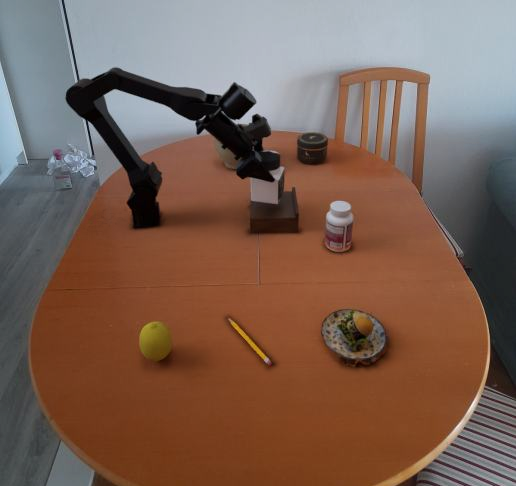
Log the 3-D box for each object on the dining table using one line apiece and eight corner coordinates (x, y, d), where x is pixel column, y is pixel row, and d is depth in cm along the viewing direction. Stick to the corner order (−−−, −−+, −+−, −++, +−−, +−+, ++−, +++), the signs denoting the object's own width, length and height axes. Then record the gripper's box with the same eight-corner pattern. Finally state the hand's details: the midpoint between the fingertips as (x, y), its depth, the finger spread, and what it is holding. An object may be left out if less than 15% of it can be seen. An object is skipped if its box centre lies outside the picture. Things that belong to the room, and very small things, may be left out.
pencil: (268, 366, 77) (268, 363, 76) (226, 320, 86) (226, 317, 86) (272, 364, 77) (272, 361, 77) (229, 318, 87) (229, 315, 86)
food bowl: (334, 307, 89) (337, 278, 85) (394, 329, 83) (399, 299, 80) (309, 349, 80) (311, 319, 76) (374, 378, 74) (379, 346, 71)
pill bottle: (342, 235, 110) (346, 196, 104) (355, 249, 105) (360, 209, 99) (320, 240, 108) (322, 201, 103) (332, 255, 103) (335, 215, 98)
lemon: (167, 372, 76) (161, 339, 72) (137, 367, 77) (130, 334, 73) (179, 347, 81) (174, 314, 77) (150, 342, 82) (144, 310, 78)
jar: (292, 162, 145) (293, 141, 142) (301, 150, 153) (302, 130, 150) (322, 167, 142) (323, 145, 138) (330, 154, 150) (331, 133, 146)
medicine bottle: (278, 205, 110) (279, 161, 104) (250, 201, 111) (249, 158, 106) (284, 191, 116) (285, 148, 110) (257, 187, 117) (257, 146, 112)
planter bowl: (264, 174, 138) (263, 142, 133) (212, 175, 139) (209, 143, 133) (264, 152, 152) (263, 123, 147) (217, 153, 153) (215, 123, 148)
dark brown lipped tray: (250, 233, 111) (249, 214, 108) (250, 205, 123) (250, 187, 120) (298, 232, 111) (298, 213, 108) (294, 205, 122) (294, 187, 120)
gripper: (249, 123, 94) (300, 169, 99) (250, 96, 110) (294, 136, 116) (214, 157, 98) (265, 200, 103) (220, 126, 114) (264, 164, 120)
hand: (273, 173), depth 110 cm, fingers closed on medicine bottle, 8 cm apart
